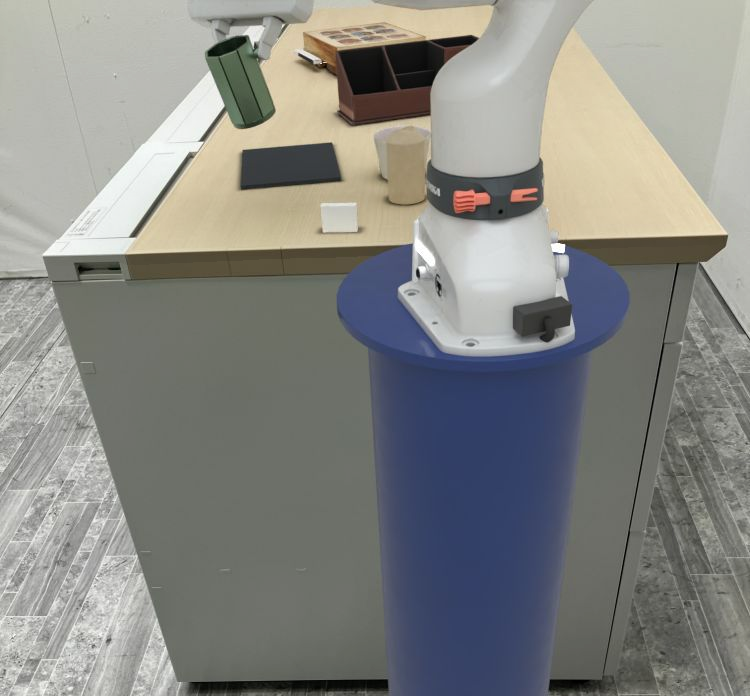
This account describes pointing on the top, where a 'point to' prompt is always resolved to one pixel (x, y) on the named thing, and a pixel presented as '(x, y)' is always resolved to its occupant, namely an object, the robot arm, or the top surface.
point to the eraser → (339, 217)
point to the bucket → (240, 82)
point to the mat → (289, 165)
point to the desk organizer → (392, 78)
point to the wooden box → (350, 41)
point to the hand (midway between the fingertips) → (240, 59)
